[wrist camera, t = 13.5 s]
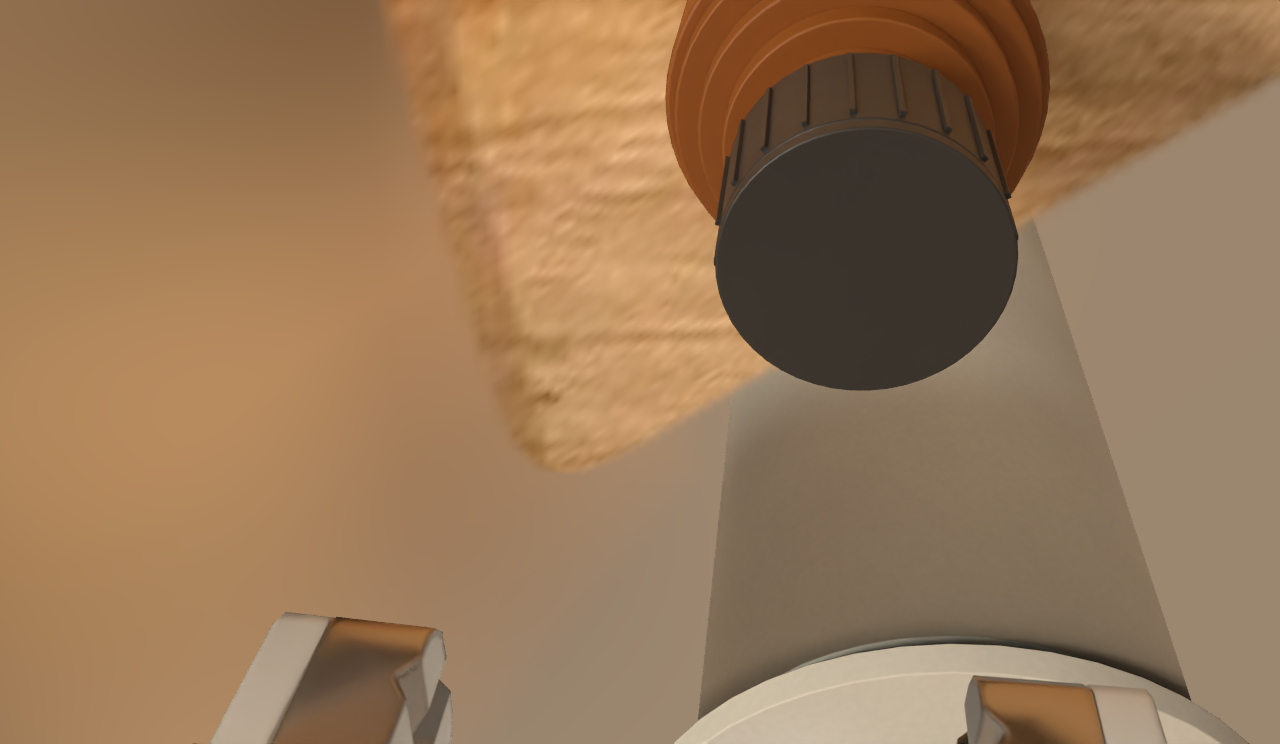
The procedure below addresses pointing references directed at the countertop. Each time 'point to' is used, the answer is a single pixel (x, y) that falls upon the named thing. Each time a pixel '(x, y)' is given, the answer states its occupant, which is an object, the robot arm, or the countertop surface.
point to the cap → (864, 224)
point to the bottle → (835, 25)
